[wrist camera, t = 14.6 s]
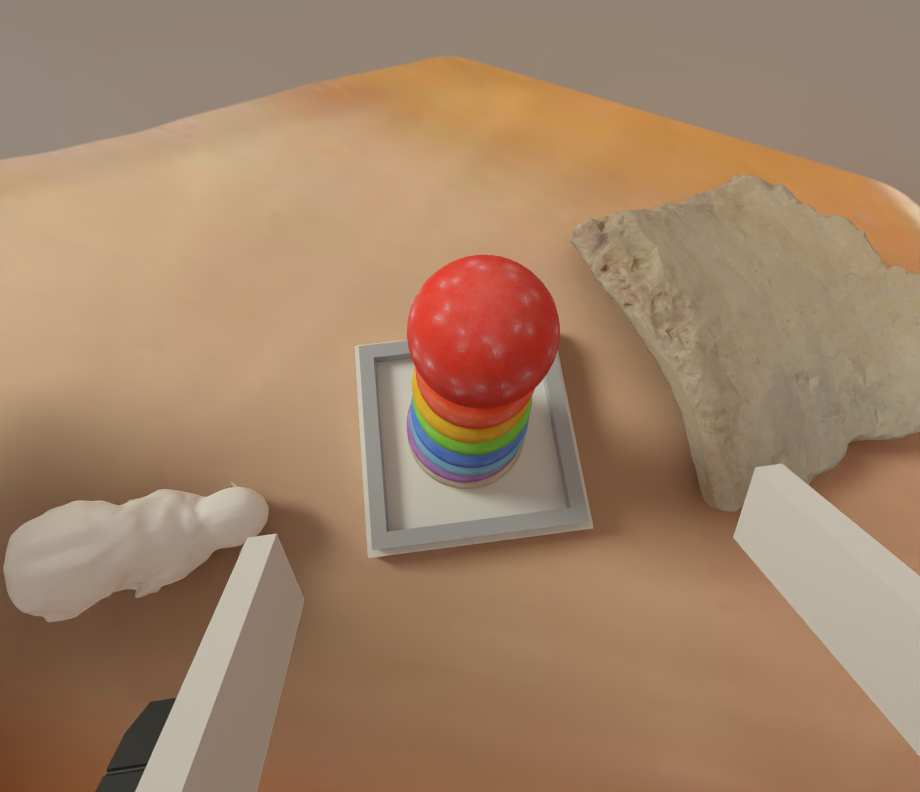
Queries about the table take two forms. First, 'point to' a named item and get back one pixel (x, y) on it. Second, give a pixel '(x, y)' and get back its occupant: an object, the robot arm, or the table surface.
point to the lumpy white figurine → (122, 546)
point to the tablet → (764, 328)
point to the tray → (451, 509)
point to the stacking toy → (477, 367)
